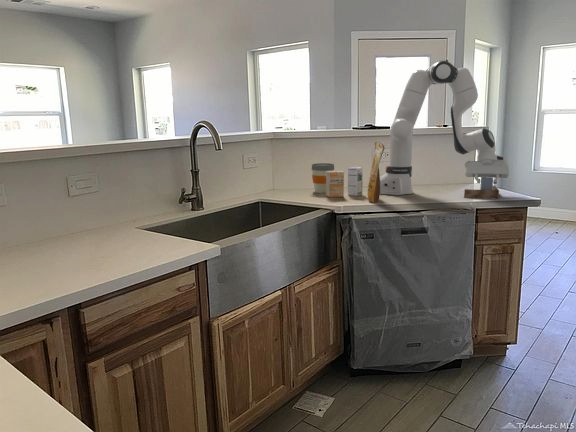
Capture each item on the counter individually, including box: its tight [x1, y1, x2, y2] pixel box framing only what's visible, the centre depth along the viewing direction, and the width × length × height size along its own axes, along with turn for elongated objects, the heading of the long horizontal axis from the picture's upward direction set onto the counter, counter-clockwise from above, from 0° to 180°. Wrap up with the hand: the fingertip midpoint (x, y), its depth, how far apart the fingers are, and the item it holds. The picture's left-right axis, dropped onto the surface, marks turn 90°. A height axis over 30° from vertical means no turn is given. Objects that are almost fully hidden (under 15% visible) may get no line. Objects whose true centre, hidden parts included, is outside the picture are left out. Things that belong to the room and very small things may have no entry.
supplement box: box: [325, 170, 345, 198], centre depth 234 cm, size 8×5×13 cm, turn 105°
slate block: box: [479, 177, 494, 190], centre depth 227 cm, size 5×5×9 cm
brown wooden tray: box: [463, 185, 500, 200], centre depth 231 cm, size 16×17×4 cm
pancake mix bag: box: [367, 141, 385, 203], centre depth 221 cm, size 7×19×28 cm, turn 173°
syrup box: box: [347, 166, 363, 197], centre depth 238 cm, size 6×6×14 cm
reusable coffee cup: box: [311, 162, 335, 194], centre depth 250 cm, size 13×13×15 cm
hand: (486, 183), depth 226 cm, fingers open, 6 cm apart
